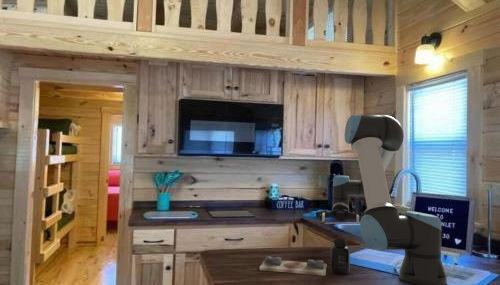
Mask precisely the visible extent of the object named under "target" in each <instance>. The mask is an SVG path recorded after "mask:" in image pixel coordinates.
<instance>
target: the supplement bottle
mask: <svg viewBox="0 0 500 285" xmlns="http://www.w3.org/2000/svg"><path fill="white" fill-rule="evenodd" d="M347 245H348V239H346V238H343V237H342V238H341V237H339V238H336V237H335V238H333V245H332V246H331V247H330V271H331V273H332V274H335V275H341V276H343V275H349V274H350V272H351V271H350V270H351V264H350V263H351V261H350V260H351V259H350V258H351V256H350V254H351V250H350V248H349V246H347Z"/></svg>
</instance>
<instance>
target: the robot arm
mask: <svg viewBox="0 0 500 285" xmlns="http://www.w3.org/2000/svg"><path fill="white" fill-rule="evenodd" d="M344 141H345V143H346V144H350V145H351V149H352V150H353V151H354V152H356V154H357V160H358V165H359V166H358V167H359V171H360V178H361V179H350V176H348V175H334V177H333V178H332V208H331V210H330V211H329V210H328V209H323V210H320V211H316V212H315V219H319V220H320V221H321V222H325V219H330V218H331V219H334V220H336V221H338V222H344V221H346V220H354V221H356V224H357V225H360V227H359V229H360V230H359V231H360V235H361V238H362V241H363V242H364V244H365V245H366V246H367V247H368V248H370V249H371V250H379V251H388V250H389V251H390V250H394V251H395V250H396V251H397V250H398V251H404V257H403V260H402V262H401V265H400V268H399V270H398V274H399V276H398V277H399V278H400V280H402V281H404V282H406V283H409V284H412V285H447V284H448V280H447V276H448V275H447V274H446V271H445V267H444V265H443V261H442V230H443V229H442V220H441V218H440V217H439V216H436V215H434V214H430V213H429V214H428V213H423V212H420V211H419V212H418V211H414V210H413V211H411V210H406V211H404V215H400V214H399V211H398V207H396V206H394V205H393V204H392V203H393V202H392V199H391V195H390V191H389V186H388V181H387V178H386V170H387V167H388V166H389V164H390V163H391V161H392V159H393V157H394V155H395V153H396V152H397V151H399V150H400V149H401V146H402V145H403V142H404V129H403V127H402V124H401V123H400V122H399V120H397V119H395V117H392V116H390V115H385V114H381V115H378V114H352V115H350V116H349V117H348V119H347V121H346V124H345V129H344ZM350 196H351V197H352V196H354V197H355V196H356V197H358V196H359V197H364V199H365V203H366V204H365V205H366V209H365V210H364V211H363V213H362V212H358V211H356V210H354V211H352V212H351V211H350Z"/></svg>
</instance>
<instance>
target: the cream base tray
mask: <svg viewBox="0 0 500 285" xmlns="http://www.w3.org/2000/svg"><path fill="white" fill-rule="evenodd" d="M282 259H283V258H282V257H280V256H274V257H273V256H269V255H266V256H265V257H264V260H263V262H262V263H261V265H260V266H259V269H258V270H259V271H265V272H267V271H268V272H281V273H290V274H291V273H293V274H299V275H301V274H302V275H311V276H312V275H314V276H322V277H324V276H327V268H328V264H327V263H325V262H324V260H321V259H320V260H319V259H318V260H314V259H307V261H306V262H305V261H293V260H282Z"/></svg>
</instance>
